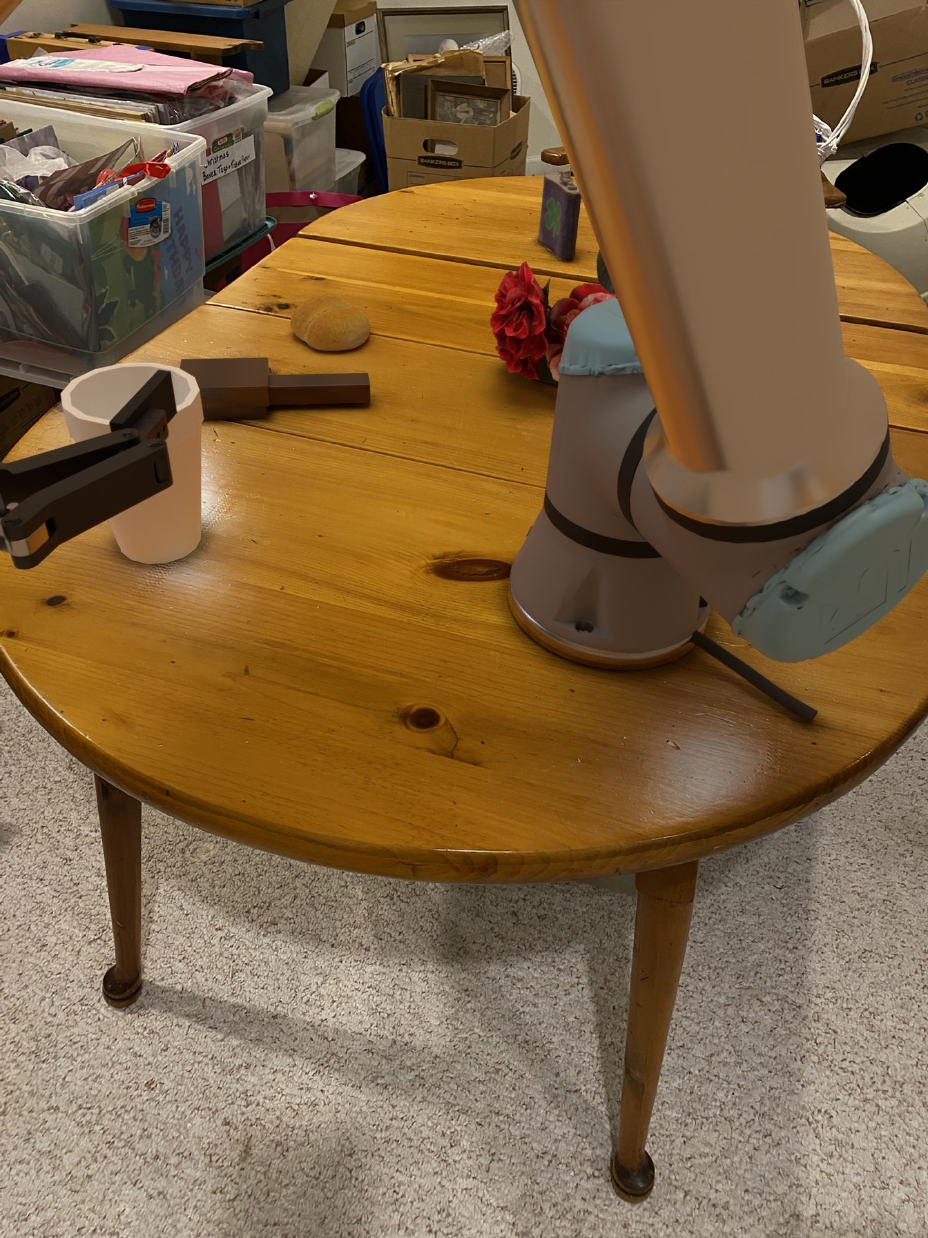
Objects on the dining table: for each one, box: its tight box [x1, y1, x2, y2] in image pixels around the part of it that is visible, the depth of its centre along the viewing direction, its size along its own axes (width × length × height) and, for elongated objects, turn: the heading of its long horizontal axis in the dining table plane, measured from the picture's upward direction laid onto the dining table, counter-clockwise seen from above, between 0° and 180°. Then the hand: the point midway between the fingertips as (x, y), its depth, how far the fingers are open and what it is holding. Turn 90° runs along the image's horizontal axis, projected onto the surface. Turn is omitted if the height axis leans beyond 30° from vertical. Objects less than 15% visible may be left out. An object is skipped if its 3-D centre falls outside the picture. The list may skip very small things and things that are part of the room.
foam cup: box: [60, 362, 205, 565], centre depth 70 cm, size 10×9×13 cm
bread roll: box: [289, 295, 371, 352], centre depth 103 cm, size 8×9×4 cm
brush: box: [179, 356, 371, 421], centre depth 91 cm, size 18×6×4 cm, turn 99°
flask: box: [537, 168, 582, 263], centre depth 127 cm, size 9×3×11 cm, turn 21°
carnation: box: [489, 248, 617, 384], centre depth 102 cm, size 16×18×35 cm
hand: (60, 376), depth 56 cm, fingers open, 13 cm apart
